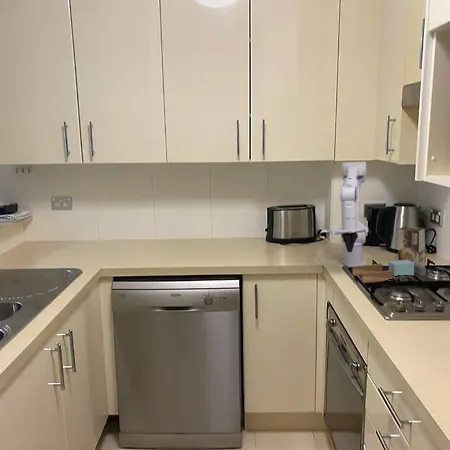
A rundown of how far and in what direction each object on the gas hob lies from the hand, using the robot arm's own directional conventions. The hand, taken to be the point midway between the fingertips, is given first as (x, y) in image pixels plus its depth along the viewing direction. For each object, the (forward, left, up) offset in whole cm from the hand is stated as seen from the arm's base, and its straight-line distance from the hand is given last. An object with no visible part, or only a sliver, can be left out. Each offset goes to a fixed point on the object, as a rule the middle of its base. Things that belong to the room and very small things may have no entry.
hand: (349, 251), depth 186 cm
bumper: (+3, +27, -10) cm, 29 cm away
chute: (+3, +8, -10) cm, 13 cm away
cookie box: (-6, +29, -11) cm, 31 cm away
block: (+3, +20, -10) cm, 23 cm away
